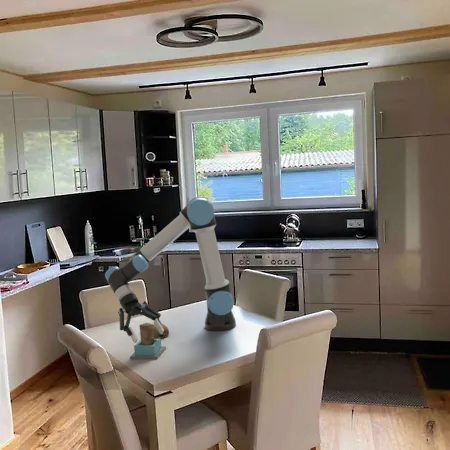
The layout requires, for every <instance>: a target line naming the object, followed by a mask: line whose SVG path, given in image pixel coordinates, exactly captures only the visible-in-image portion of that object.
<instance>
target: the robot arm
mask: <svg viewBox="0 0 450 450" xmlns="http://www.w3.org/2000/svg"><path fill="white" fill-rule="evenodd" d="M211 202H212V201H210V200H209V199H207V198H206V197H203V196H196V197H194V198H192V199H191V200H190V201H189V202H188V203H187V204H186V205H185V206H184V208H183V209H181V210H180V211H179V215H178V216H176V218H174V219H173V220H171V222H169V224H167V225H166V226H165V227H164V228H163V229H162V230H161V231H160V232H158V233H157V234H156V235H154V236H153V237H152V238H151V239H150V240H149V241H148V242H147V243H146V244H144V245H142V247H141V248H140V249H139V250H137V251H136V252H135V253H134V254H132V255H131V256H130V257H129V259H128V261H127V262H126V263H125V264H124V265H123V266H120V267H118V266H112V267H110V268H109V269H107V270H106V272H105V274H104V277H105V279H106V281H107V284H108V285H109V287H110V288H111V290H112V292H113V294H114V296H115V297H116V299H117V301H118V302H119V305H120V306H121V307H120V308H119V310H118V311H117V312H118V315H119V331H123V332H125V333H126V334H127V336H128V337H130V339H131V340H132V341H133V343H134V344H137V343H138V341H139V338H138V336H137V334H136V333H135V331H134V330H133V328H132V326H130V324H131V323H130V322H131V320H132V317H135V316H139V315H140V316H144V317H145V318H148V319H150V320H152V321H153V324H155V326H156V327H157V329H158V331H159V332H160V334H162V333H163V331H164V329H163V327H162V326H161V325H162V324H163V323H162V322H161V320H160V318H161V316H162V314H161V313H160V312H158V311H157V310H156V309H155V308H153V307H152V306H151V305H149V304H148V303H147V301H145V300H144V301H143V302H142V303H140V302H139V299H138V297H137V296H136V294H135V293H134V290H133V289H132V287H131V285H130V284H129V282H131V281H132V280H134V279H135V278H137V277H138V276H139V275H140V274H142V273H145V271H146V270H148V268H149V267H150V265H149V264H150V262H151V261H152V260H154V259H155V257H157V256H158V255H159V254H160V253H161V252H163V251H164V250H165V249H166V248H168V246H169V245H171V244H173V242H175V241H176V240H177V239H178V238H180V236H181V235H183V234H184V233H185V232H186V231H187V230H189V228H190V230H191V231H192V232H194V233H195V238H196V241H197V245H198V250H199V255H200V259H201V263H202V268H203V272H204V277H205V281H206V282H205V285H204V291H205V296H206V308H207V312H206V315H205V321H204V328H205V329H206V330H207V331H208V330H209V331H217V332H218V331H226V330H232V329H233V328H235V327H236V325H237V323H236V319H235V316H234V314H233V311H232V310H233V308H234V304H235V299H234V296H233V294H232V290H231V286H230V285H231V284H230V280H229V279H227V278H225V273H224V268H223V264H222V260H221V255H220V254H221V253H220V250H219V249H220V248H219V246H218V242H217V236H216V232H215V228H216V226H217V221H216V216H215V208H214V205H213V204H212V203H211ZM125 314H127V316H126V321H125ZM161 323H162V324H161Z"/></svg>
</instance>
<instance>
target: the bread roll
mask: <svg viewBox="0 0 450 450" xmlns="http://www.w3.org/2000/svg"><path fill="white" fill-rule="evenodd" d="M152 324H153V333H154V339H164V338H167V337H168V336H169V335H170V330H169V328H168V326H167V325H165V324H164V323H162V322H161V324H162V325H161V326H162V327H163V329H164V331H163V333H162V334H160V332H159V331H158V329H157V327H156V326H155V324H154V323H152Z"/></svg>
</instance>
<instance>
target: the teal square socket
mask: <svg viewBox="0 0 450 450" xmlns="http://www.w3.org/2000/svg"><path fill="white" fill-rule="evenodd" d="M161 339H162V338H160V339H154V344H153V345H141V339H140V340H138V341H137V342H136V343H135V344H134V346H133V347H134V348H133V349H134V350H133V351H134V352H133V353H132V354H131V355H130V356H129V358H130V359H131V360H140V359H141V360H158V359H159V357H160V356H161V355H162V354H163V353H164V352H165V350H166V349H167V346H162V340H161Z"/></svg>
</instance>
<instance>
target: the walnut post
mask: <svg viewBox="0 0 450 450" xmlns="http://www.w3.org/2000/svg"><path fill="white" fill-rule="evenodd" d="M153 324H154V323H151V322H145V323H141V324H139V335H140V340H141V345H153V344H154V333H153Z"/></svg>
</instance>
